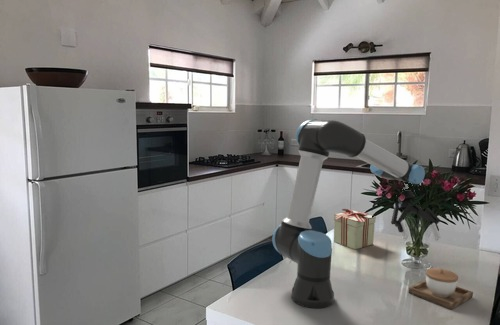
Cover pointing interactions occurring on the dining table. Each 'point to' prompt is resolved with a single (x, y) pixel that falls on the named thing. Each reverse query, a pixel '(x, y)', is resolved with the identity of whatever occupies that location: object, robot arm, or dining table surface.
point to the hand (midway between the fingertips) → (422, 239)
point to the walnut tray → (448, 302)
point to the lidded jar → (441, 282)
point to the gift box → (354, 229)
